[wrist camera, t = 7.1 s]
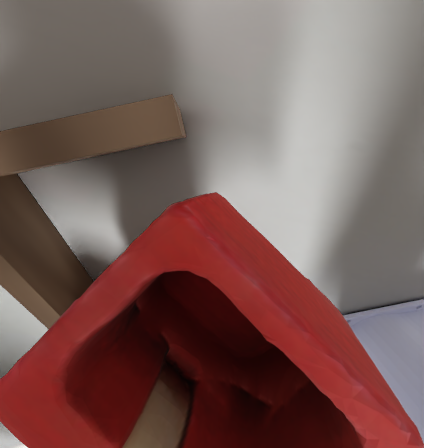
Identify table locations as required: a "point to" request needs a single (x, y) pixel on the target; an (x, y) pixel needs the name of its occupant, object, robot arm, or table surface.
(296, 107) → the table surface
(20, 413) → the toy fire truck
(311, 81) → the table surface
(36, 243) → the garage bay
